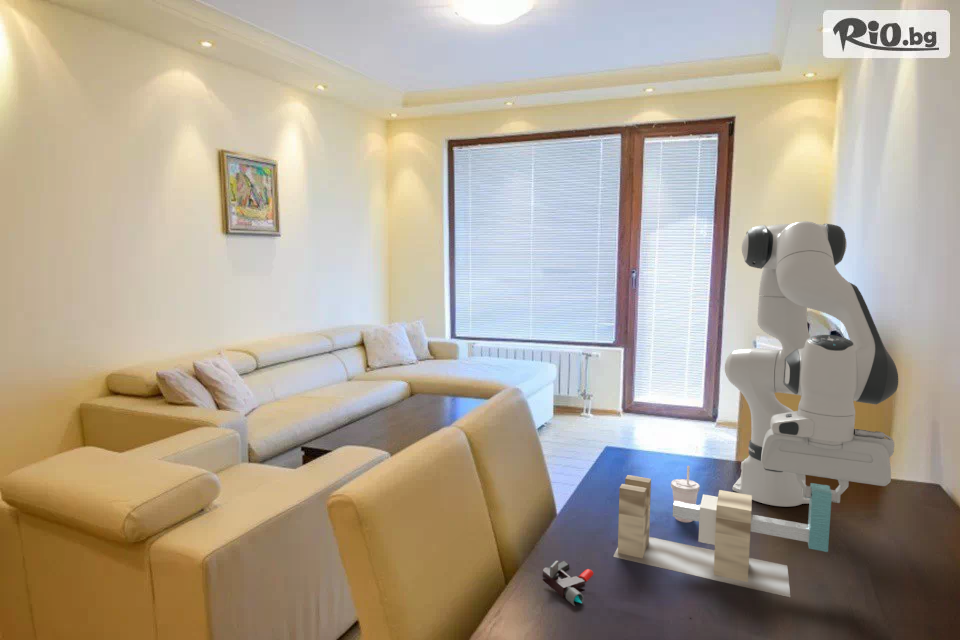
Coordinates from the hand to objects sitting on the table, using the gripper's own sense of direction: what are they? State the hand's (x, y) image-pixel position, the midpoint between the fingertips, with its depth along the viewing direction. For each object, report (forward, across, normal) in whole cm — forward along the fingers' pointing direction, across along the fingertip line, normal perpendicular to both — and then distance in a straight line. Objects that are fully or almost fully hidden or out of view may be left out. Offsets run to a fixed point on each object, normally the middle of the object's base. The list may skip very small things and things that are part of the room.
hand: (820, 499), depth 103 cm
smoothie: (+18, +25, -19) cm, 37 cm away
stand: (+18, +20, 0) cm, 27 cm away
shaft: (+9, +12, 0) cm, 15 cm away
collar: (+11, +19, 0) cm, 22 cm away
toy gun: (+19, +41, +18) cm, 48 cm away
